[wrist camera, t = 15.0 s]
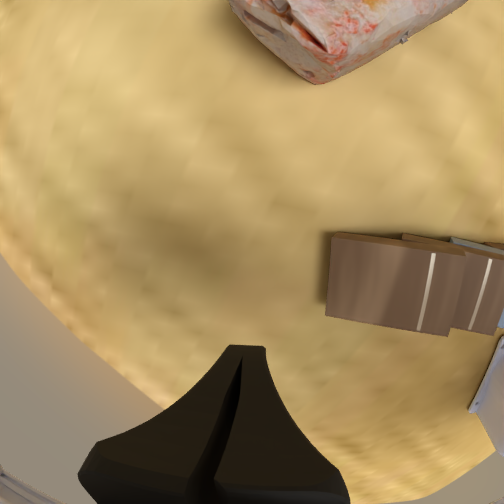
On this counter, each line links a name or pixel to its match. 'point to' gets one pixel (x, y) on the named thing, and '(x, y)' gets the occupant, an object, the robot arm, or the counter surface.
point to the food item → (336, 30)
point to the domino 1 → (394, 282)
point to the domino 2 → (476, 288)
